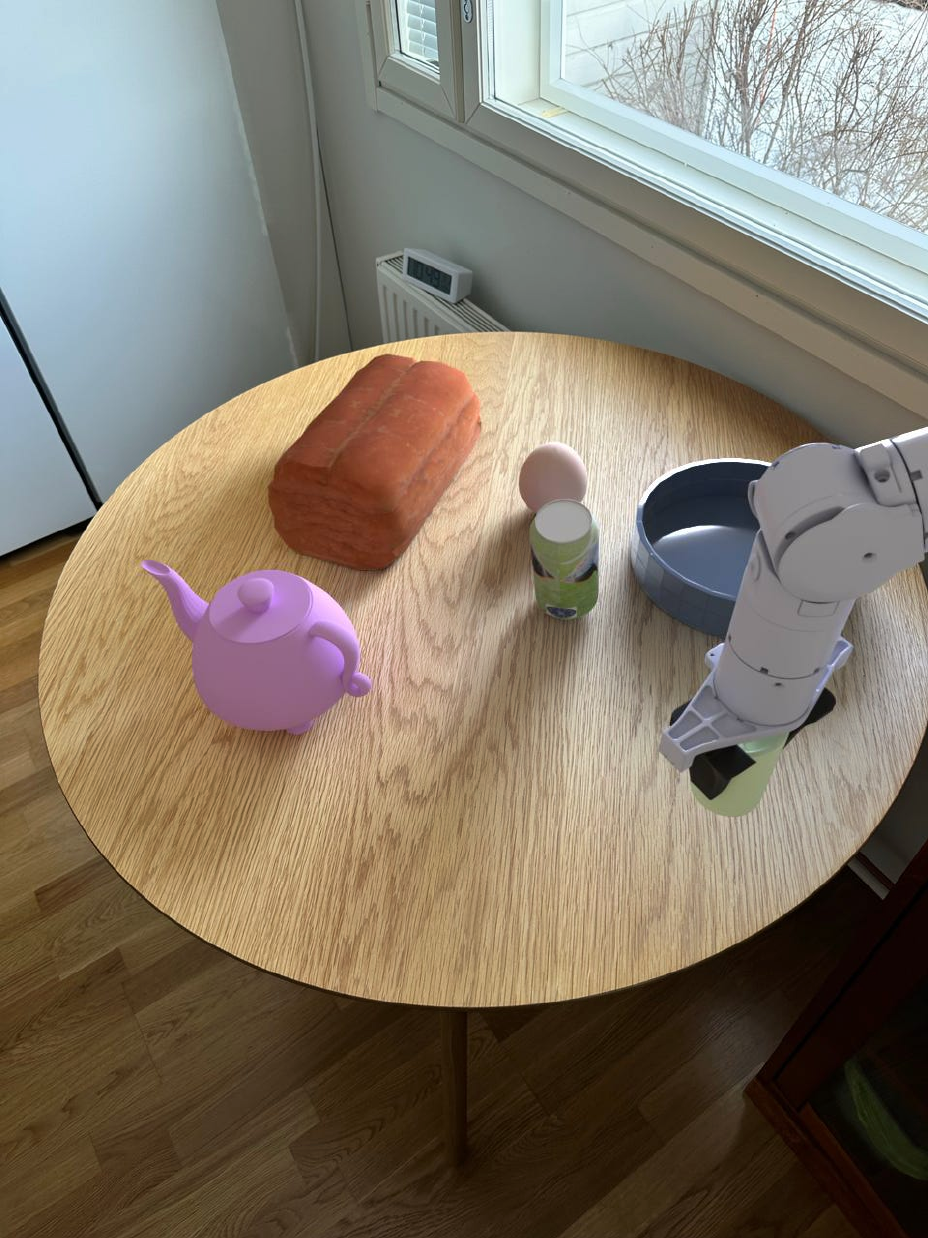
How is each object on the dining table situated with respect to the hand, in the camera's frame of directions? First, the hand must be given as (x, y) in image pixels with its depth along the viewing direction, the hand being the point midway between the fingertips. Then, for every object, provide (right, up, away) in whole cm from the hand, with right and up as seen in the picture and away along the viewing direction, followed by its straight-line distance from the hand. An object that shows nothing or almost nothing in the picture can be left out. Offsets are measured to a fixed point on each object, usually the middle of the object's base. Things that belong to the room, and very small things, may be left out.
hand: (732, 768), depth 57 cm
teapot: (-36, +4, +17) cm, 40 cm away
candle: (0, -2, +2) cm, 3 cm away
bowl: (+9, +16, +25) cm, 31 cm away
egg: (-9, +22, +32) cm, 40 cm away
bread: (-28, +25, +36) cm, 52 cm away
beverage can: (-9, +11, +22) cm, 27 cm away
